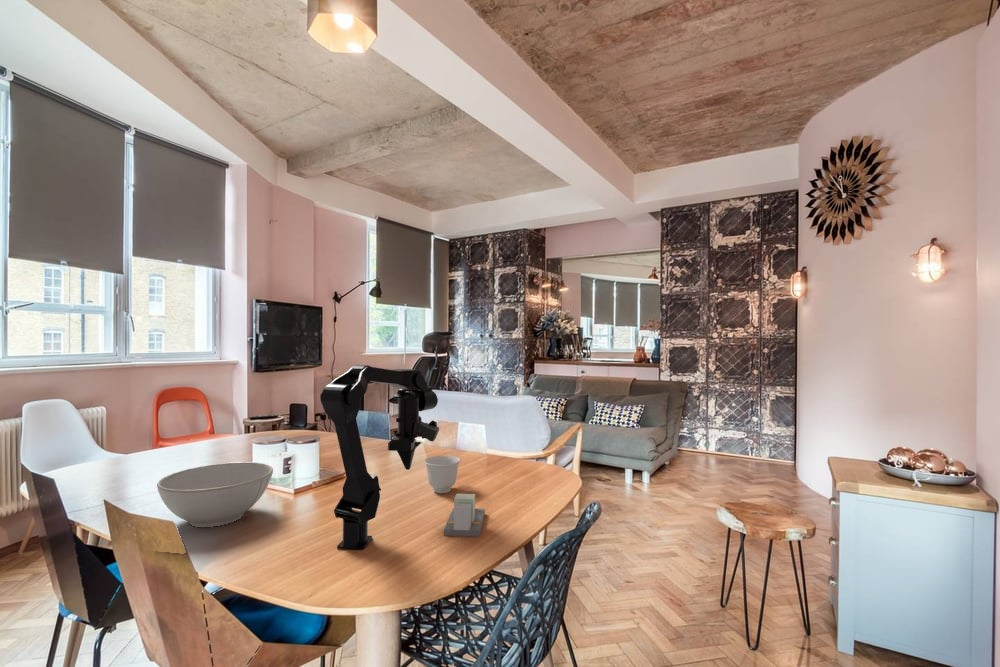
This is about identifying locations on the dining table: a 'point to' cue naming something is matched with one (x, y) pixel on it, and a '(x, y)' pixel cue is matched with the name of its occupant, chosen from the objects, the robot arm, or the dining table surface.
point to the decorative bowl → (214, 491)
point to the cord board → (465, 533)
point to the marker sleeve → (466, 502)
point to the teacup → (442, 472)
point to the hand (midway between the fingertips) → (407, 469)
